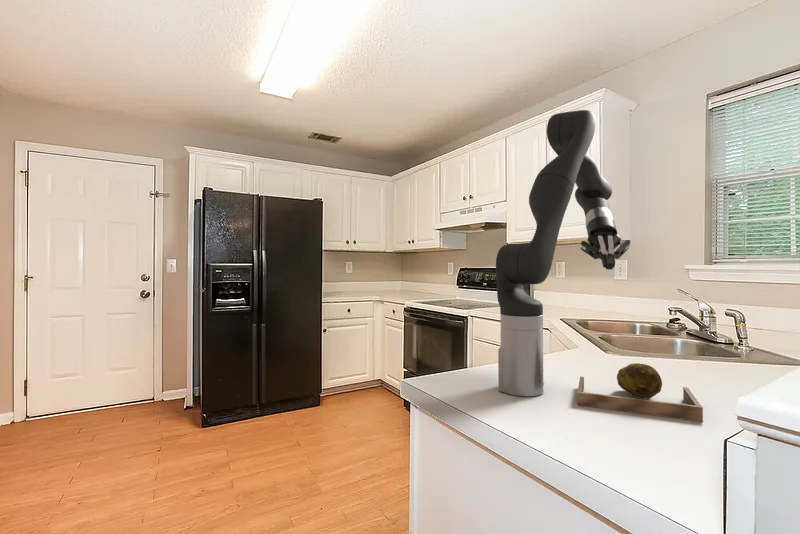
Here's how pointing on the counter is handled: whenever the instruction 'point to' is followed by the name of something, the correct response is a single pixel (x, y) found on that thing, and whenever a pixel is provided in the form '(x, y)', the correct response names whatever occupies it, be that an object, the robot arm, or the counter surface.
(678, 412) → the tray
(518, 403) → the counter surface
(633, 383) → the potato
